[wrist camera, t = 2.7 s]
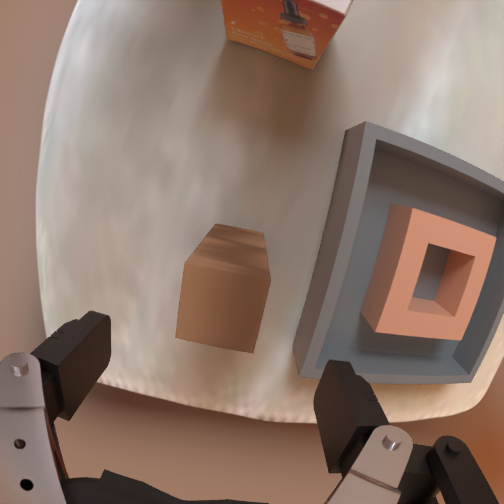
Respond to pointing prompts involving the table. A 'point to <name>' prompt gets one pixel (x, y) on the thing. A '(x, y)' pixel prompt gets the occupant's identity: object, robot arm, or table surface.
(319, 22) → the small box
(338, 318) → the walled bin
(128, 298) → the table surface
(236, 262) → the walnut peg
